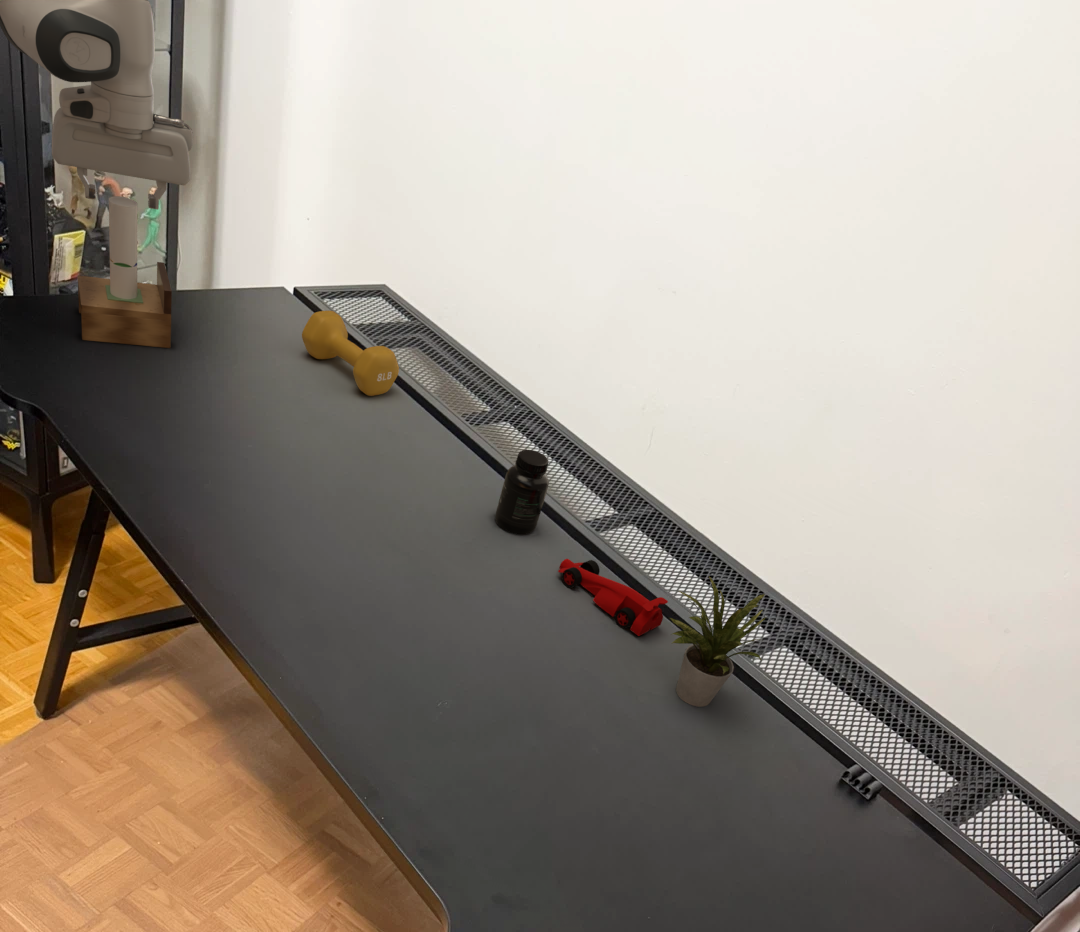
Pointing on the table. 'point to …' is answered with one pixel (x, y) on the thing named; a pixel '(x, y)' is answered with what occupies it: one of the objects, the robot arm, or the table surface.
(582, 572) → the toy car
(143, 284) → the wooden stand base
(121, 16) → the robot arm
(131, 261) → the tube
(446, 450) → the table surface
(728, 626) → the house plant
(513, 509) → the supplement bottle
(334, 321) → the dumbbell
